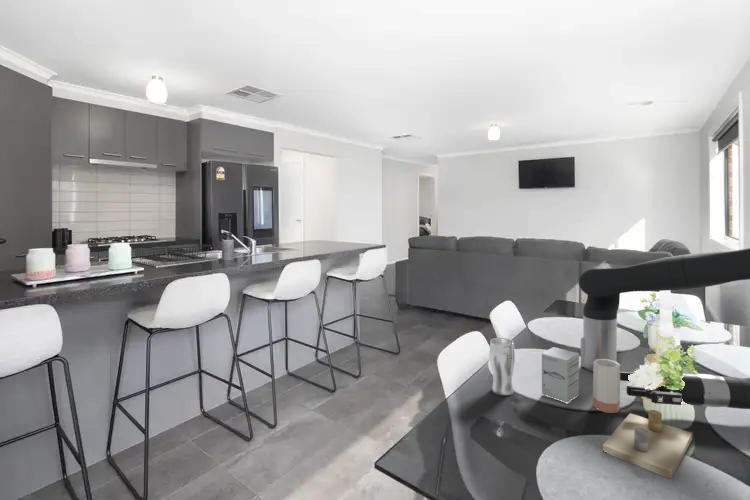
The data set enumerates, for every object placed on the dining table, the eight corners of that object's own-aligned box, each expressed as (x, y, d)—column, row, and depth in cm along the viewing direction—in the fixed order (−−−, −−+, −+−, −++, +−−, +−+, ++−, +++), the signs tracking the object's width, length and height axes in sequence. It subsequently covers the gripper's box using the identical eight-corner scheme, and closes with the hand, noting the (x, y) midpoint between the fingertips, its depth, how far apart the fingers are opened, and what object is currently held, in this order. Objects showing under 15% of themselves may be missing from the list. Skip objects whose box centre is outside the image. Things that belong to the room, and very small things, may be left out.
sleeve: (590, 407, 101) (590, 363, 100) (598, 399, 104) (598, 357, 103) (614, 415, 97) (614, 369, 95) (622, 407, 100) (622, 362, 99)
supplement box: (540, 396, 108) (540, 353, 107) (553, 387, 113) (553, 345, 111) (567, 405, 102) (567, 360, 101) (579, 396, 107) (579, 352, 106)
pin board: (602, 451, 83) (602, 427, 83) (630, 418, 95) (630, 397, 94) (671, 479, 74) (671, 452, 73) (692, 439, 86) (692, 415, 85)
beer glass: (517, 397, 108) (516, 345, 107) (491, 396, 110) (490, 345, 108) (513, 385, 115) (512, 337, 113) (489, 385, 116) (488, 337, 115)
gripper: (687, 363, 99) (615, 358, 105) (714, 388, 86) (630, 381, 92) (686, 390, 100) (614, 384, 106) (713, 419, 87) (630, 410, 92)
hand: (622, 382), depth 99 cm, fingers open, 8 cm apart
